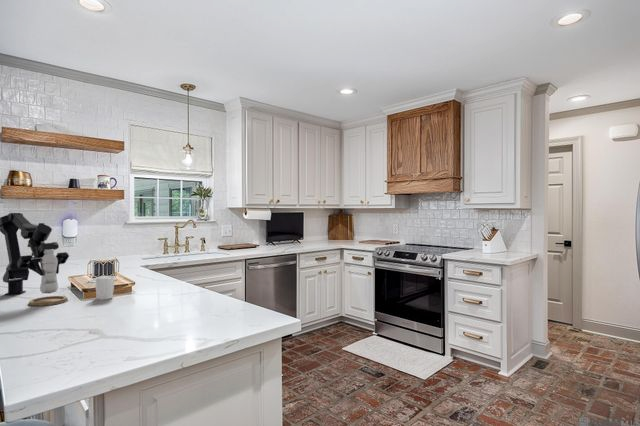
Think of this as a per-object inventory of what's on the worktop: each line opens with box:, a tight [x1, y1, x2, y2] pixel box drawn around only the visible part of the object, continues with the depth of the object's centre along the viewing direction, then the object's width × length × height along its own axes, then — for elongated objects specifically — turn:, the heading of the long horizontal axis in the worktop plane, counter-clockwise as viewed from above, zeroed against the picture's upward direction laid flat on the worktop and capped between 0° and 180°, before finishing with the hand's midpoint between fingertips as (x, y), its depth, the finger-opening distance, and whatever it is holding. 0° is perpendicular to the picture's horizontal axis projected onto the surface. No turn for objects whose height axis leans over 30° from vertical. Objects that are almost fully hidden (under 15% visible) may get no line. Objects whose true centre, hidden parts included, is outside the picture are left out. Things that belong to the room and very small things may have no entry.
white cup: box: [94, 275, 115, 301], centre depth 175 cm, size 8×8×10 cm
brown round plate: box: [27, 295, 69, 307], centre depth 166 cm, size 14×14×1 cm
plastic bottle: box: [39, 249, 59, 294], centre depth 166 cm, size 6×7×20 cm
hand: (50, 274), depth 166 cm, fingers closed on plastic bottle, 6 cm apart
